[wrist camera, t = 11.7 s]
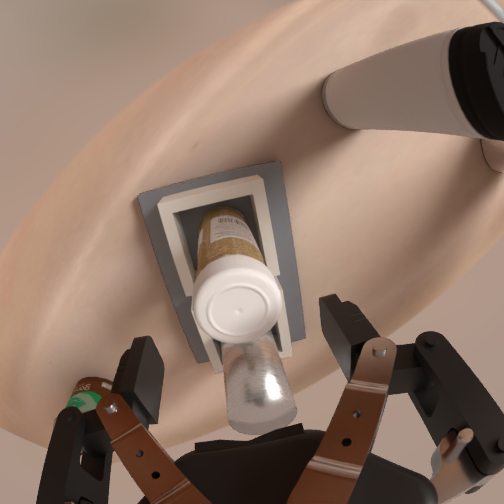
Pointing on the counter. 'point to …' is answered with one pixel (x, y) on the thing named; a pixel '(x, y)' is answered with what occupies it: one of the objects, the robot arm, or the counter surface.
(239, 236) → the sprinkles bottle
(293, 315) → the grey and white holder
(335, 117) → the travel mug
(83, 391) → the food container
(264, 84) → the counter surface
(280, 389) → the cylinder
